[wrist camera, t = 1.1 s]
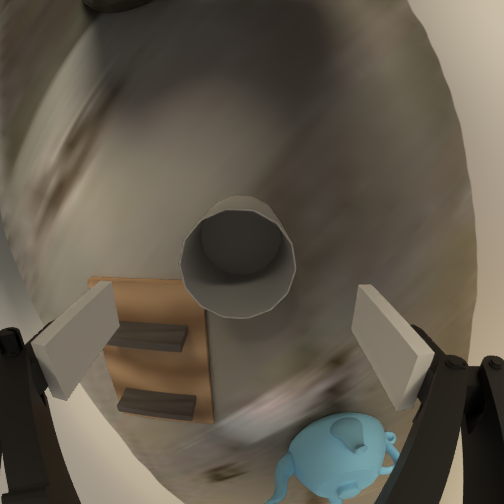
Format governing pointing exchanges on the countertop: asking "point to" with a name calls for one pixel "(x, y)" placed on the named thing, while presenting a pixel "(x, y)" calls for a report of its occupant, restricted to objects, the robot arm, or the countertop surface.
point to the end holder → (159, 351)
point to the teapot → (336, 457)
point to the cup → (238, 259)
